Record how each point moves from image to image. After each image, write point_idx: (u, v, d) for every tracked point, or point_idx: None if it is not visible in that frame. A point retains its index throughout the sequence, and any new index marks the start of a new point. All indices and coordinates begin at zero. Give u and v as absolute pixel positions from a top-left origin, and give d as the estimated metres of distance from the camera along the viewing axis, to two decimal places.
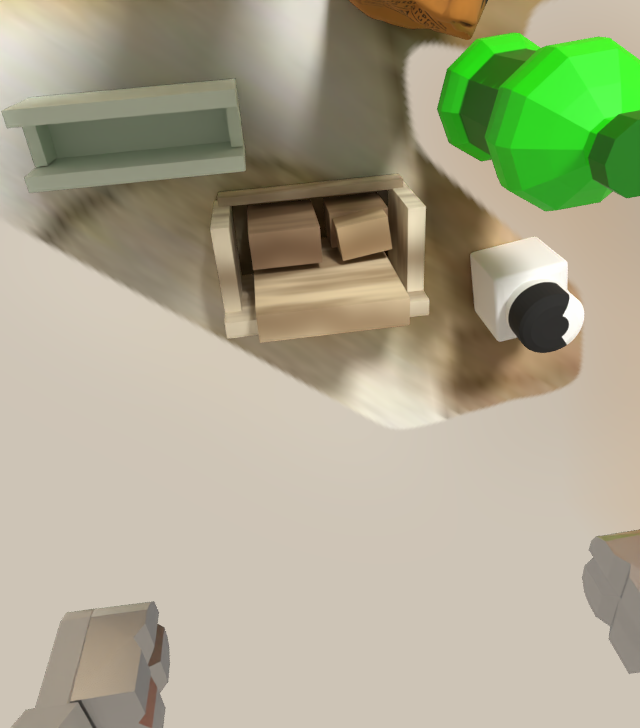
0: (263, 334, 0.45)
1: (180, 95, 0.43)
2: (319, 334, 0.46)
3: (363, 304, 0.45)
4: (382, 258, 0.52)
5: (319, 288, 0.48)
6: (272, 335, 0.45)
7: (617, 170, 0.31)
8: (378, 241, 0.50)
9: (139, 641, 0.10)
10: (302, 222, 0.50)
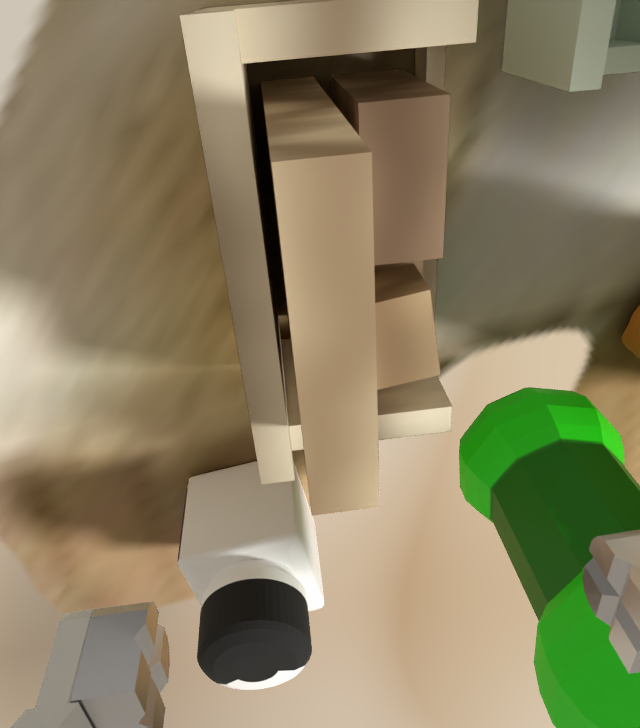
0: (302, 174, 0.14)
1: None
2: (295, 334, 0.16)
3: (375, 425, 0.18)
4: None
5: None
6: (297, 203, 0.14)
7: None
8: (394, 365, 0.26)
9: (139, 641, 0.10)
10: None
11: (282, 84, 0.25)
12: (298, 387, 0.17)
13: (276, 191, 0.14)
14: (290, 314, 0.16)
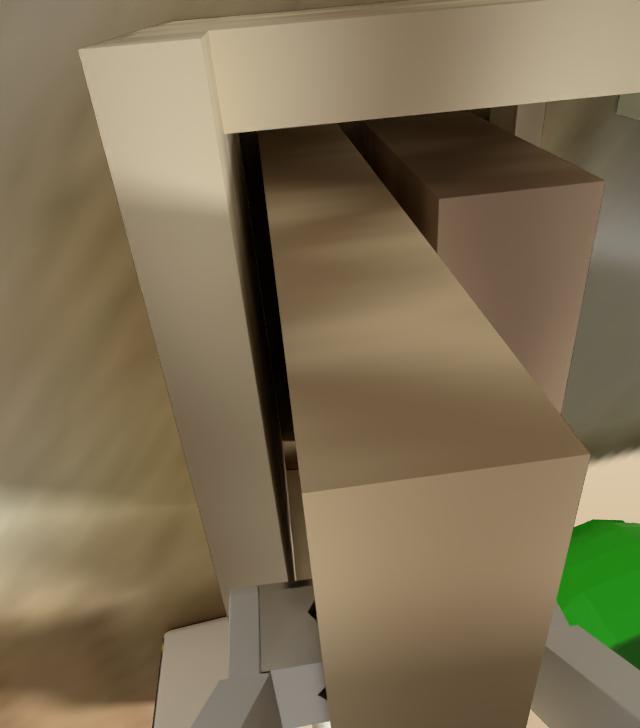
0: (390, 513, 0.05)
1: None
2: None
3: None
4: None
5: None
6: (370, 569, 0.05)
7: None
8: None
9: (309, 616, 0.10)
10: None
11: (291, 139, 0.16)
12: None
13: (313, 549, 0.05)
14: None
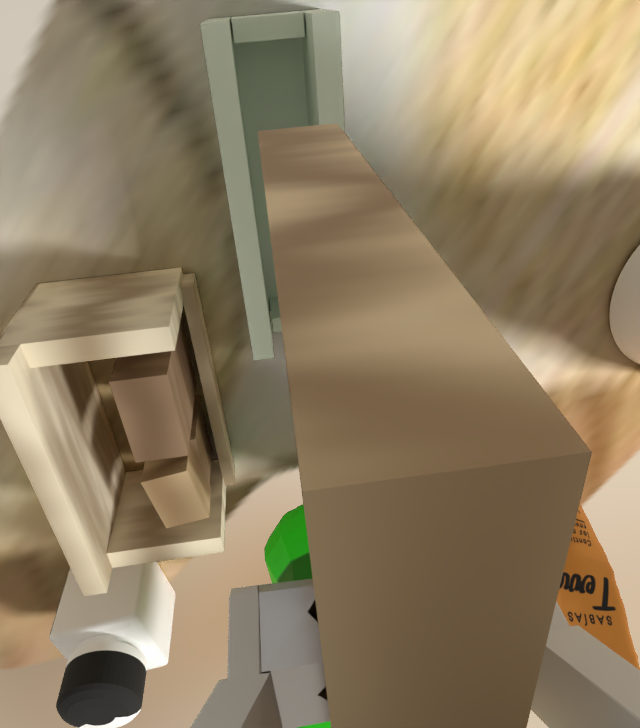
0: (390, 511, 0.05)
1: None
2: None
3: None
4: None
5: None
6: (370, 567, 0.05)
7: None
8: (174, 513, 0.38)
9: (309, 616, 0.10)
10: (185, 423, 0.36)
11: (291, 138, 0.16)
12: None
13: (313, 547, 0.05)
14: None
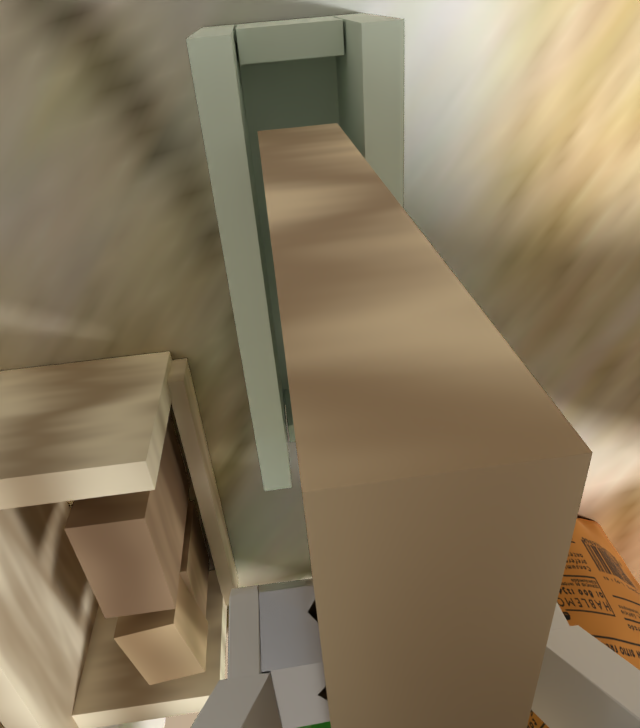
0: (390, 512, 0.05)
1: None
2: None
3: None
4: None
5: None
6: (370, 568, 0.05)
7: None
8: (159, 669, 0.29)
9: (309, 616, 0.10)
10: (173, 562, 0.27)
11: (291, 138, 0.16)
12: None
13: (313, 548, 0.05)
14: None
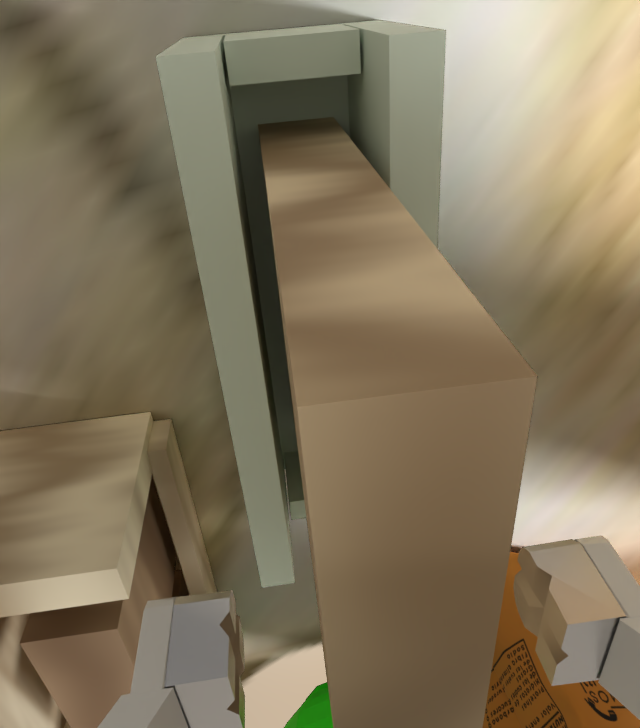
0: (370, 427, 0.06)
1: None
2: (336, 674, 0.08)
3: None
4: None
5: None
6: (355, 479, 0.06)
7: None
8: None
9: (223, 629, 0.10)
10: None
11: (290, 131, 0.17)
12: None
13: (307, 459, 0.06)
14: (329, 649, 0.08)
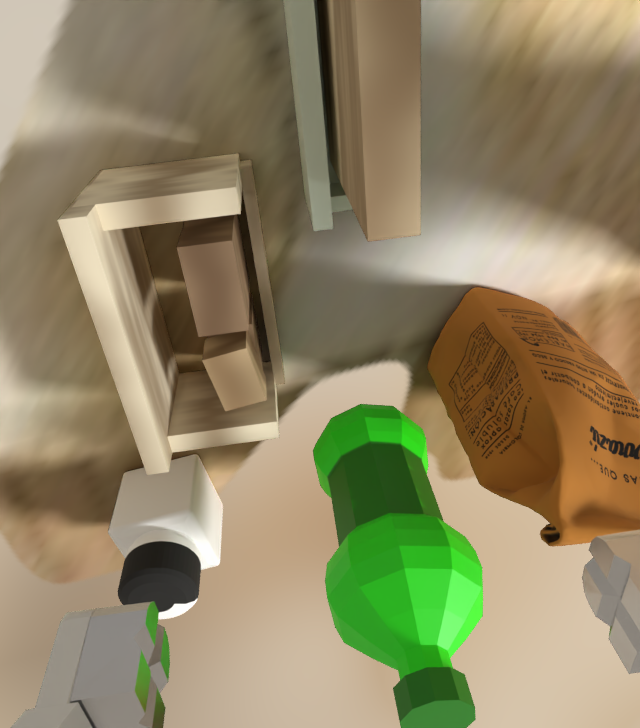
0: None
1: None
2: (361, 60, 0.22)
3: (418, 150, 0.24)
4: None
5: None
6: None
7: (428, 709, 0.31)
8: (233, 395, 0.40)
9: (139, 640, 0.10)
10: (245, 301, 0.37)
11: None
12: (362, 111, 0.23)
13: None
14: (358, 40, 0.22)
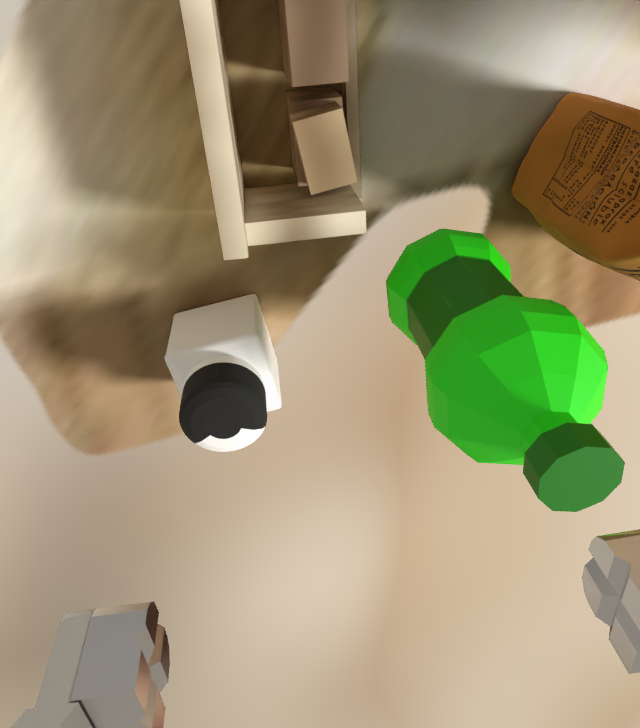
0: None
1: None
2: None
3: None
4: None
5: None
6: None
7: (575, 461, 0.27)
8: (322, 172, 0.36)
9: (139, 641, 0.10)
10: None
11: None
12: None
13: None
14: None
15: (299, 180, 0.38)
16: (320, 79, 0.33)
